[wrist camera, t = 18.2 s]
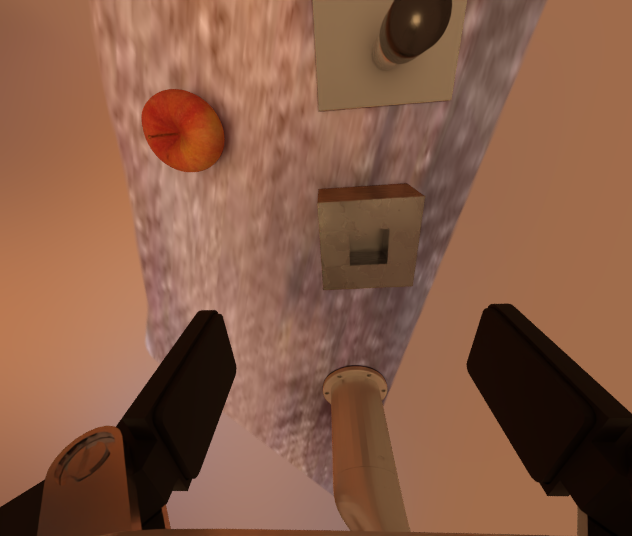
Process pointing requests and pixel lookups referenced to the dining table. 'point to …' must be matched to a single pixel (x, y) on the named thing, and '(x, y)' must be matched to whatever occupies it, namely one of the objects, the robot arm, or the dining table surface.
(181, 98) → the apple
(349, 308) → the dining table surface
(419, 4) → the brown beige cylinder
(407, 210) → the block
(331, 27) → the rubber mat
